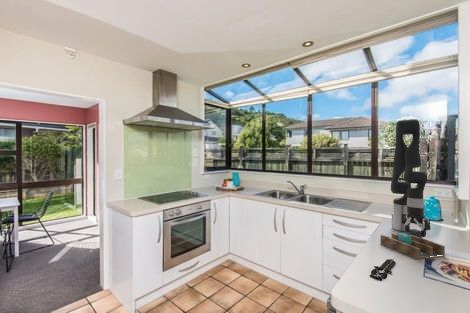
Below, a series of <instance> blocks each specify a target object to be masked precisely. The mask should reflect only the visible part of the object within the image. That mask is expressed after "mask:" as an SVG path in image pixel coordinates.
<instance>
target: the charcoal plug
mask: <svg viewBox="0 0 470 313" xmlns="http://www.w3.org/2000/svg"><path fill="white" fill-rule="evenodd" d="M408 234H411V235H414V236H417V237H420V238H423V237H421V229H416V228H410V229H409V232H408Z"/></svg>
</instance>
